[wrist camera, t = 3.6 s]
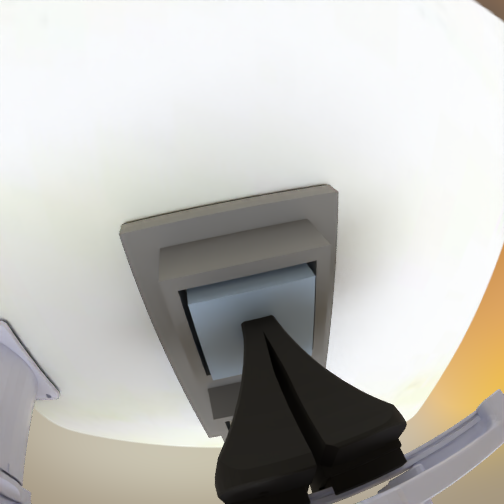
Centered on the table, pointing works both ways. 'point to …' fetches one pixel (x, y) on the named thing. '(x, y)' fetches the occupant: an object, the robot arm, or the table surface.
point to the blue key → (251, 313)
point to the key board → (229, 275)
